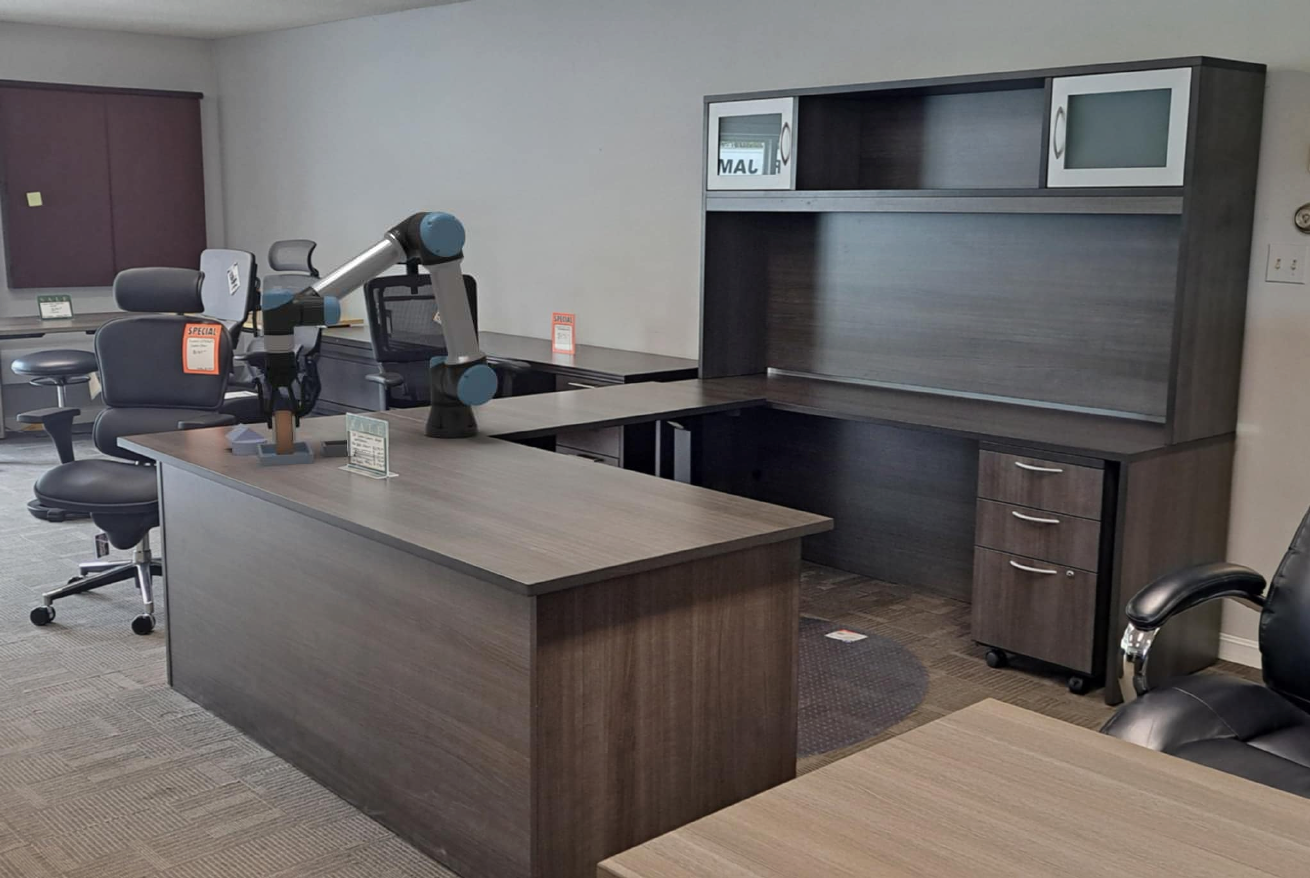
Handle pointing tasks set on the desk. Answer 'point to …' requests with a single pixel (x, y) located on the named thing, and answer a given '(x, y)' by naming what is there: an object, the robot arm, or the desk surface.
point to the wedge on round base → (245, 440)
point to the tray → (300, 456)
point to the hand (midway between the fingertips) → (284, 440)
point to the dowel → (284, 433)
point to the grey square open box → (334, 448)
